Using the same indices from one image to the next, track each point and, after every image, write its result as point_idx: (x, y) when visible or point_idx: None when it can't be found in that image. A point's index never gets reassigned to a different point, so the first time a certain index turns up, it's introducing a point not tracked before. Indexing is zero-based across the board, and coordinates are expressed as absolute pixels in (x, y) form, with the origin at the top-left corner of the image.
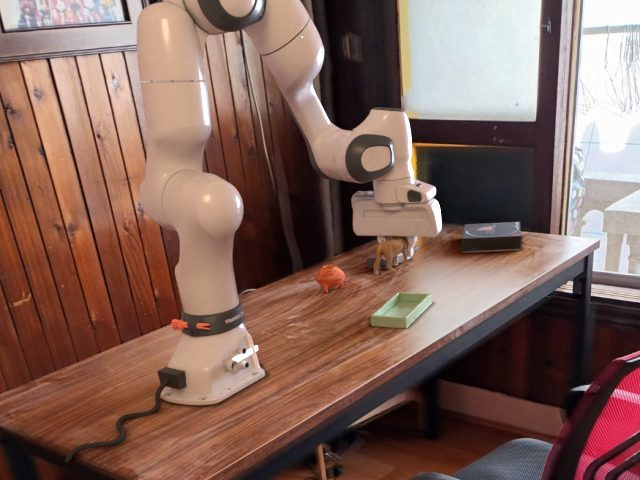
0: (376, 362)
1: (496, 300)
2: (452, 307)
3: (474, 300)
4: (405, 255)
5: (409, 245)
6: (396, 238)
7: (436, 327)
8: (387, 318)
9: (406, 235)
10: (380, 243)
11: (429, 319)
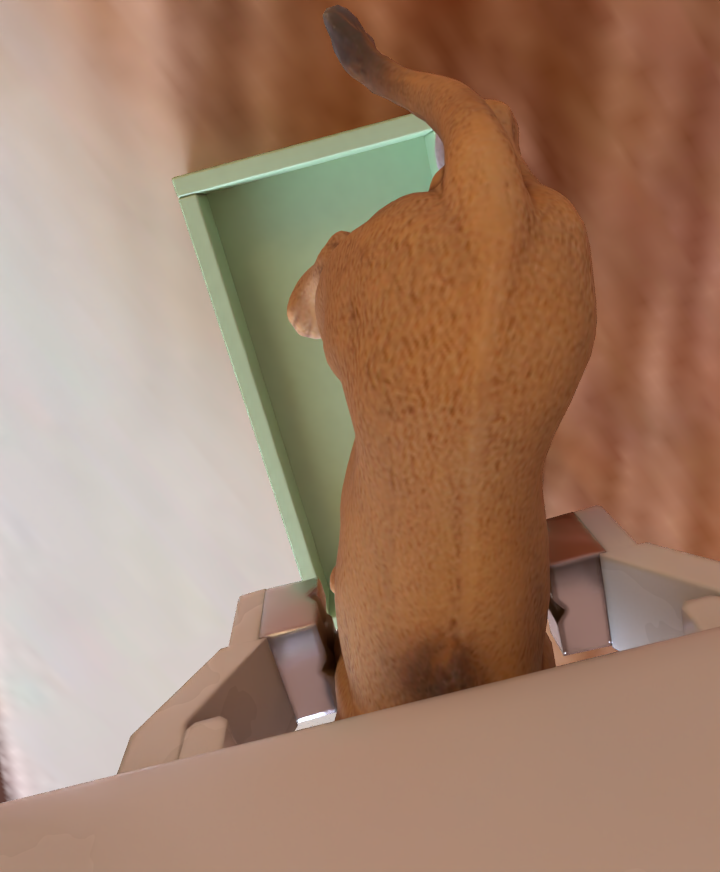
0: None
1: (33, 761)
2: (173, 596)
3: (136, 720)
4: (308, 579)
5: (229, 676)
6: (426, 679)
7: (28, 286)
8: (313, 140)
9: (202, 760)
10: (534, 275)
11: (163, 385)
